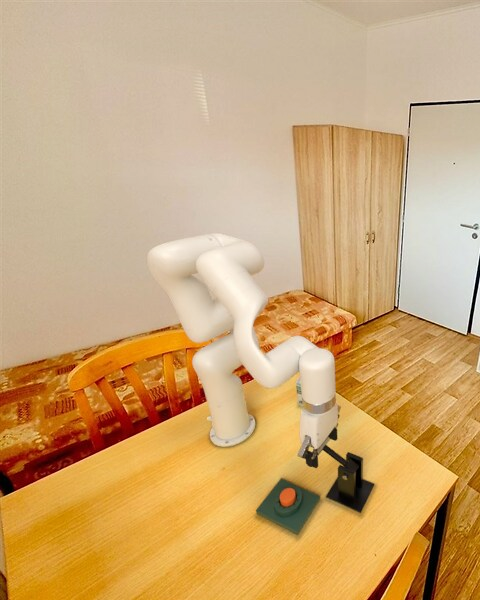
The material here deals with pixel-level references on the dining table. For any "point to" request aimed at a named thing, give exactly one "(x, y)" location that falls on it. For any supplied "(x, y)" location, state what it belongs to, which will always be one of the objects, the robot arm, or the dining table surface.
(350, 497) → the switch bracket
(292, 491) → the button
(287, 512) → the control block
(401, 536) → the dining table surface
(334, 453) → the switch lever
